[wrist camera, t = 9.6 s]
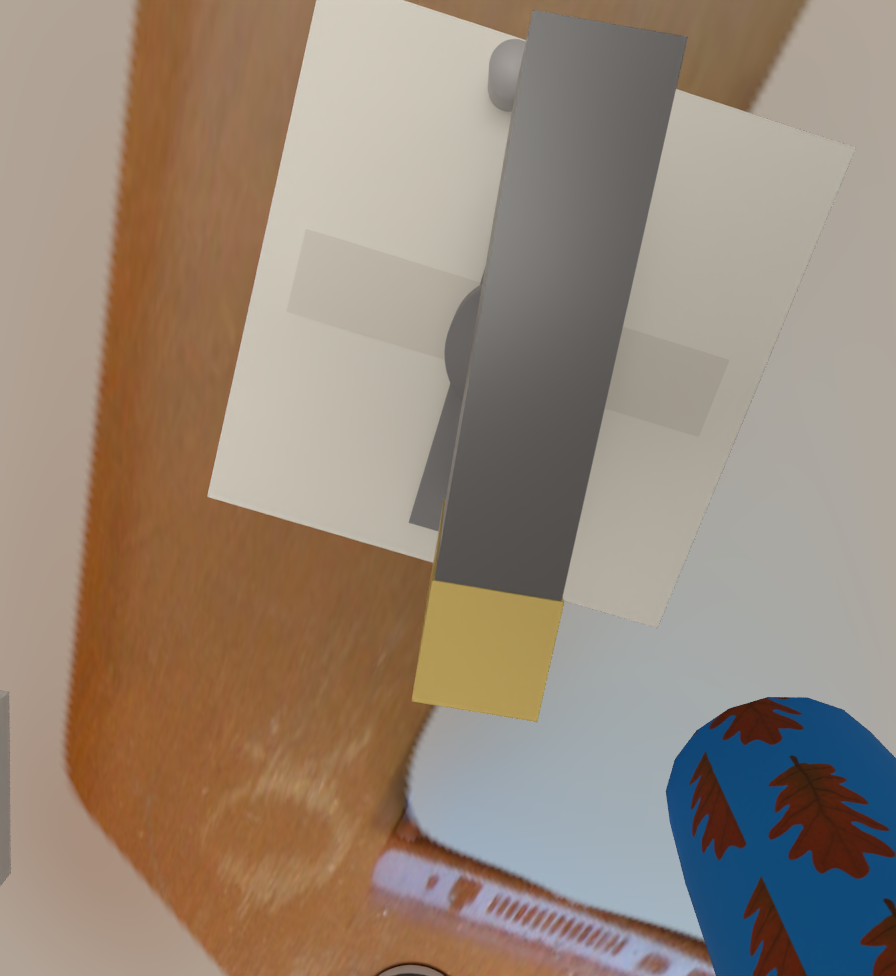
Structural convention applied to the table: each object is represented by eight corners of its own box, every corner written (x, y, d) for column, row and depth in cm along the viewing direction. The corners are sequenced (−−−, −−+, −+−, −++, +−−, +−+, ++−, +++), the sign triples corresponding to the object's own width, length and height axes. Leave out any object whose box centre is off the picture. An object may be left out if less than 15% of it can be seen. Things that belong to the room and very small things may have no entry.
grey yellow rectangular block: (511, 101, 22) (530, 8, 14) (611, 118, 22) (690, 37, 14) (432, 561, 26) (411, 701, 18) (518, 575, 26) (537, 721, 18)
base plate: (838, 152, 30) (961, 117, 22) (650, 613, 36) (697, 711, 28) (330, -13, 29) (276, -109, 21) (218, 486, 35) (144, 551, 27)
